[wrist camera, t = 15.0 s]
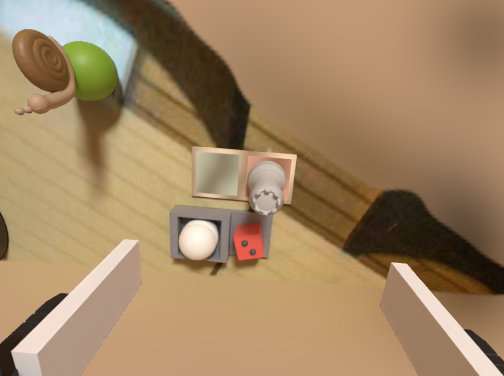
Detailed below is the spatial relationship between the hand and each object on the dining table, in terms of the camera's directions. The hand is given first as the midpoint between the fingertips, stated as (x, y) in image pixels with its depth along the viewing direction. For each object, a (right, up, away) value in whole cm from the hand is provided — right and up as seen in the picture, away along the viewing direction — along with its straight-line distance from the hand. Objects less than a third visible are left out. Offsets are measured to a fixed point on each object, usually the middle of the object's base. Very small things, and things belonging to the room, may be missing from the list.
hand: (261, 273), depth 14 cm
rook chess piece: (+1, +6, +18) cm, 19 cm away
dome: (-7, -1, +19) cm, 21 cm away
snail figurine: (-17, +16, +16) cm, 28 cm away
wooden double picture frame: (-2, +6, +18) cm, 19 cm away
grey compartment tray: (-4, -1, +20) cm, 21 cm away
